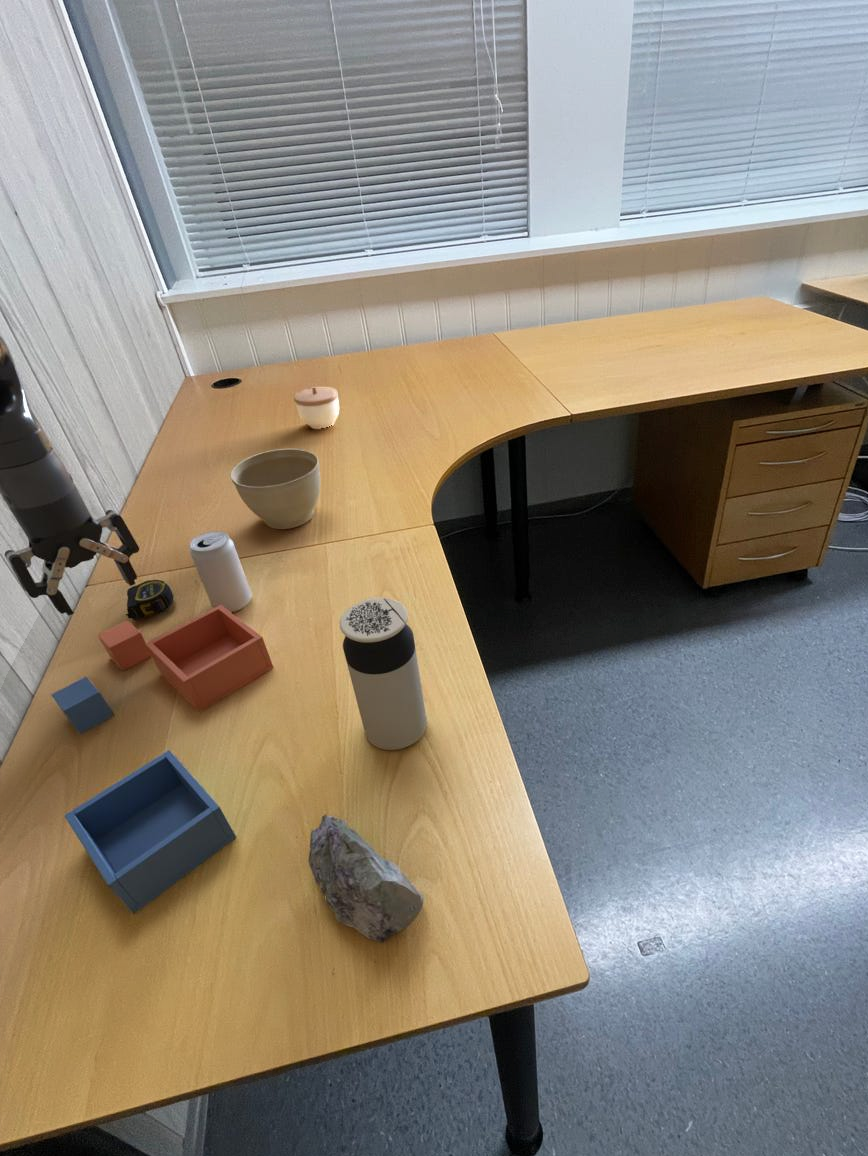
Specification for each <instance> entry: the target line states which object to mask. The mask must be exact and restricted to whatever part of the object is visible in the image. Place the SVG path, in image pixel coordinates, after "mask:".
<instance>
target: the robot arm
mask: <svg viewBox="0 0 868 1156" xmlns="http://www.w3.org/2000/svg"><path fill="white" fill-rule="evenodd" d="M0 495H1V498H2V499H3V501H4V502H5V504H6V505H7V507H8V508H9V510H10V512H11V513H12V515H13V517H14V518H15V520H16V521H17V523H18V525H19V526H20V528H21V529H22V532H23V533H24V534H25V536H26V537H27V540H28V547H25V548H22V549H19V550H16V551H15V550H14V549H9V550H6V551H5V552H4V557H5V559H6V561H7V563H8V565H9V566H10V568H11V570H12V571H13V573H14V575H15V577H16V579H17V581H18V582H19V584H20V587H22V589H23V590H24V592H26V593H27V595H28V596H29V597H30V598H31V599H37V598H39V597H40V596H47V597H48V599H49V600H50V602H51V603H52V605H53V607H54V608H55V609H56V611H58V612H59V613H60V614H61V615H63V614H66V615H67V616H71V615H73V614H75V612H74V610H73V609H72V607H71V606H70V604H69V602H68V600H66V598H65V596H64V595H63V593H62V591H61V590H60V589H59V586H60V582H61V580H62V579H63V577H64V573H65V569H66V568H69V569H72V568H75V567H77V566H79V564H81V563H83V562H88V561H91V560H93V559H95V556H96V555H97V554H99V555H101V556H103V557H106V558H109V559H113V561H114V563H115V565H116V567H117V569H118V570H119V573H120V574H121V577H122V579H123V580H124V582H125V583H126V584H127V585H128V586H130V587H133V586H135V585H137V584H136V581H135V580H137V579H138V575H137V573H136V571H135V569H134V567H133V565H132V562H131V561H130V558H131V557H132V556H133V554H137V553H139V551H140V547H139V545H138V543H137V541H136V539H135V538H134V536H133V534H132V533H131V531H130V529H129V527H128V526H127V524H126V522H125V520H124V518H123V517H122V516H121V515H120V514H118V513H117V512H116V511H115V510H113V509H108V510H106V512H105V515H104V516H101V517H99V518H97V519H95V518H93V516H92V515H91V514H92V513H91V512H90V511H89V509H88V507H87V505H86V503H85V501H84V499H83V497H82V496H81V493H80V492H79V490H78V488H77V486H76V484H75V482H74V478H73V476H72V475H71V473H70V472H69V471H68V469H67V467H66V465H65V464H64V462H63V461H62V459H61V457H59V455H58V453H57V452H56V451H55V449H54V447H53V445H52V444H51V441H50V439H49V438H48V435H47V433H46V432H45V430H44V428H43V426H42V424H41V423H40V421H39V419H38V418H37V417H36V415H35V413H34V412H33V409H32V407H31V404H30V402H29V399H28V397H27V393H26V391H25V387H24V384H23V381H22V379H21V376H20V373H19V371H18V368H17V366H16V363H15V361H14V357H13V355H12V354H11V351H10V348H9V346H8V345H7V343H6V341H5V340H4V338H3V336H2V335H1V334H0ZM103 528H106V529H108V530H109V531H110V532H115V534H116V536H117V537H118V539H119V541H120V542H121V545H120V547H116V546H113V545H111V544H108V543H106V542H105V541H103V540H102V539H101V538H102V534H103ZM33 557H36V558H38V559H40V560H43V562H42V563H43V564H42V566H41V567H42V574H41V577H40V578H41V579H40V581H39V582H35V580H34V578H33V577H32V575H31V572H30V571H29V570H28V568H30V567H31V565H32V561H31V560H32V558H33Z"/></svg>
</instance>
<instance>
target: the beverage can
mask: <svg viewBox="0 0 868 1156" xmlns="http://www.w3.org/2000/svg"><path fill="white" fill-rule="evenodd" d="M189 547H190V551H189V554H190V556H191V560H192V562H193V564H194V566H195V570H196V571H197V574H198V576H199V578H200V582H201V583H202V586H203V588H204V590H205V594H206V595H207V598H208V600H209V603H210V605H211V607H212V609H213V608H215V607H217V606H219V605H222V606H223V607H224V608H226V609H227V610H228V611H230V612H231V613H234V612H235V613H236V612H238V611H240V610H242V609H244V608H245V607H246V606H247V605H248V604H249V603H250V601H251V600H252V598H253V597H252V596H253V594H252V591H251V588H250V586H249V583H248V580H247V578H246V574H245V571H244V570H243V566H242V563H241V561H240V558H239V555H238V552H237V550H236V546H235V544H234V541H233V540H232V539H231V538H230V537H229V535H228V534H227V532H223V531H209V532H205V533H201V534H200V535H198V536H196V537H194V538H193V539H192V540H190V543H189Z"/></svg>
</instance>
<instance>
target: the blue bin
mask: <svg viewBox="0 0 868 1156" xmlns="http://www.w3.org/2000/svg"><path fill="white" fill-rule="evenodd" d="M63 817H64V818H65V819H66V821H67V823H68V825H69V826H70V828H71V829H72V830H73V832H74V834H75V835H76V837H77V839H78V840H79V842H80V844H81V845H82V847H83V848H84V849H85V851H86V853H87V854H88V856H89V858H90V859H91V861H92V862H93V864H94V865H95V867H96V869H97V871H98V872H99V874H100V875H101V877H102V879H103V881H104V882H105V883H106V885H107V887H109V889H110V890H111V891H112V892H113V893H114V894H115V895H116V896H117V898H118V899H119V900H120V901H121V902H122V904H124V906H125V907H126V908H127V909H128V910H129V911H130V913H131V914H132V915H134V914H136V913H138V912H139V911H140V910H141V909H143V908H145V907H146V906H147V905H148V904H149V903H151V902H152V901H153V900H155V899H156V898H157V897H159V896H161V895H162V894H163V893H164V892H166V891H167V890H168V889H169V888H171V887H173V885H175V884H176V883H177V882H179V881H180V880H182V879H183V878H185V876H187V875H188V874H189V873H191V872H192V871H193V870H195V869H196V868H198V867H199V866H200V865H202V864H203V863H204V862H206V861H207V860H208V859H210V858H211V857H212V856H214V855H215V854H216V853H218V852H219V851H221V850H222V849H223V848H224V847H226V846H227V845H228V844H230V843H231V842H233V841H234V840H235V839H237V836H236V834H235V832H234V830H233V828H232V826H231V825H230V823H229V821H228V819H227V817H226V816H225V814H224V812H223V810H222V809H221V807H220V805H219V804H218V803H217V802H216V801H215V800H214V798H213V797H212V796H211V795H210V794H209V793H208V791H206V790H205V788H204V787H203V786H202V785H201V784H200V782H198V780H197V779H196V778H195V777H194V776H193V775H192V774H191V772H190V771H189V770H188V768H186V767H185V766H184V764H183V763H182V762H181V761H180V760H179V759H178V757H177V756H176V755H175V754H174V752H172V751H171V749H168V750H166V751H165V752H163V753H162V754H160V755H159V756H157V757H155V758H154V759H152V760H151V761H148V762H147V763H146V764H144V765H142V766H141V767H138V768H137V769H136V770H134V771H133V772H131V773H129V774H128V775H126V776H125V777H123V778H121V779H120V780H118V781H117V782H115V783H113V784H111V785H110V786H108V787H107V788H106V789H104V790H102V791H100V792H99V793H97V794H96V795H94V796H93V797H91V798H90V799H88V800H86V801H84V802H83V803H81V804H80V805H78V806H76V807H75V808H73V809H72V810H70V811H69V812H67V813H65V814H64V815H63Z"/></svg>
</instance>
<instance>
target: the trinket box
mask: <svg viewBox="0 0 868 1156" xmlns="http://www.w3.org/2000/svg"><path fill="white" fill-rule="evenodd" d="M293 400H294V403H295V406H296V410H297V412H298V414H299V416H300V419H301V420H302V421H303V422H304V423H305V424H306V425H308V426H309V427H310V428H311V429H313V430H322V429H321V428H324V429H328V428H331V427H333V426H334V425H335V422H336V421H337V419H338V417H339V414H340V401H339V394H338V391H337V389H335V388H333V387H330V386H312V387H309V388H305V389H302V390H300V391H298V392H296V393H295V394H294V396H293ZM331 425H332V426H331ZM329 426H330V427H329ZM326 427H328V428H326ZM324 429H323V430H324Z"/></svg>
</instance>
